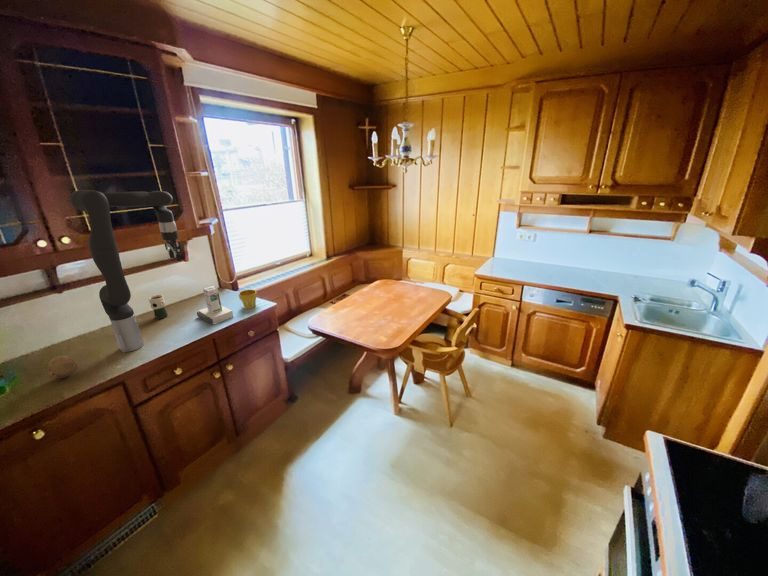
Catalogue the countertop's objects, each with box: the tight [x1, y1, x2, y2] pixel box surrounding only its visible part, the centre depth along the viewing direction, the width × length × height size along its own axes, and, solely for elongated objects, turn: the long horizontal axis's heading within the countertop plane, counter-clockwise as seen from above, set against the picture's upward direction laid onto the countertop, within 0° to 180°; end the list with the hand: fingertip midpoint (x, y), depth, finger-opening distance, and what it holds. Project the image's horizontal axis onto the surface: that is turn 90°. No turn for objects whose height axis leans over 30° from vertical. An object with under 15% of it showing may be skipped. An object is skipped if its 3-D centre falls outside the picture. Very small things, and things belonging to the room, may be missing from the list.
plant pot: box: [238, 289, 258, 309], centre depth 200 cm, size 10×10×10 cm
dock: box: [196, 304, 234, 325], centre depth 187 cm, size 13×16×4 cm
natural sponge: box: [46, 355, 79, 379], centre depth 134 cm, size 9×9×10 cm
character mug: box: [148, 294, 168, 320], centre depth 184 cm, size 11×7×13 cm, turn 68°
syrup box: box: [202, 285, 222, 313], centre depth 184 cm, size 6×6×14 cm
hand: (175, 259), depth 173 cm, fingers open, 8 cm apart
